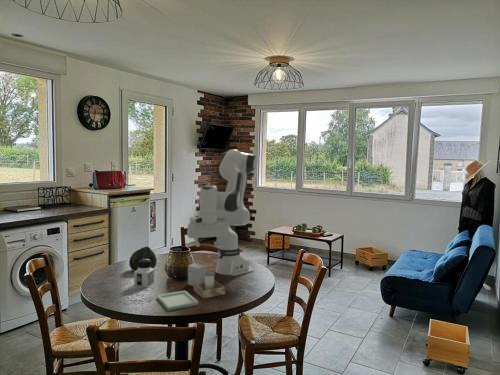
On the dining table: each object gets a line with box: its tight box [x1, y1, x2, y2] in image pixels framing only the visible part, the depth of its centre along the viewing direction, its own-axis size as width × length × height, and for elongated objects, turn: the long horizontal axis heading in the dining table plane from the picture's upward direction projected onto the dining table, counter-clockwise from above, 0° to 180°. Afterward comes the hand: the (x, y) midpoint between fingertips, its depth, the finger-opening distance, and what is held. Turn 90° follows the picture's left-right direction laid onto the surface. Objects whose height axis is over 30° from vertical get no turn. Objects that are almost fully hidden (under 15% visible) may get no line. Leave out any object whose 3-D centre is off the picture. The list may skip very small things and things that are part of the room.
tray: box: [156, 290, 199, 312], centre depth 170 cm, size 14×16×2 cm
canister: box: [204, 270, 215, 290], centre depth 183 cm, size 5×5×10 cm
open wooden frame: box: [193, 279, 226, 299], centre depth 183 cm, size 12×12×4 cm
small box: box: [187, 262, 207, 287], centre depth 193 cm, size 8×6×10 cm
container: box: [133, 259, 155, 288], centre depth 192 cm, size 8×8×13 cm
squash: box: [128, 246, 158, 271], centre depth 215 cm, size 14×15×15 cm
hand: (207, 246), depth 182 cm, fingers open, 8 cm apart
